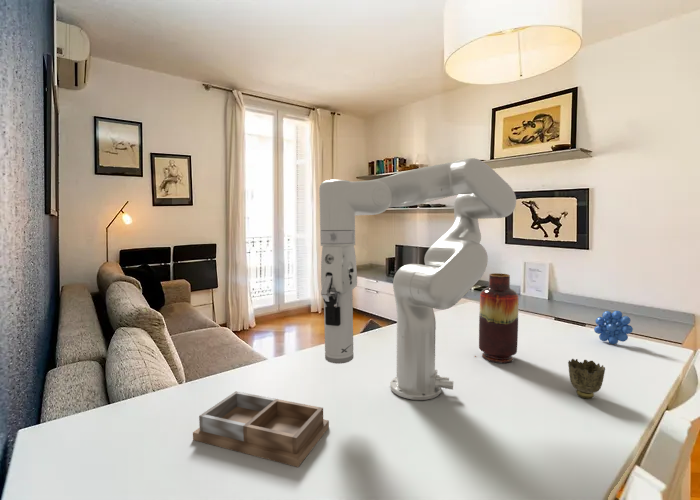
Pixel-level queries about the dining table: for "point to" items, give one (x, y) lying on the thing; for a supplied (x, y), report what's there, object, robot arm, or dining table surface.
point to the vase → (498, 320)
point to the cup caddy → (263, 427)
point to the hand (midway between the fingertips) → (339, 320)
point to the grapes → (613, 327)
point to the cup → (586, 377)
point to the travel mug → (341, 330)
